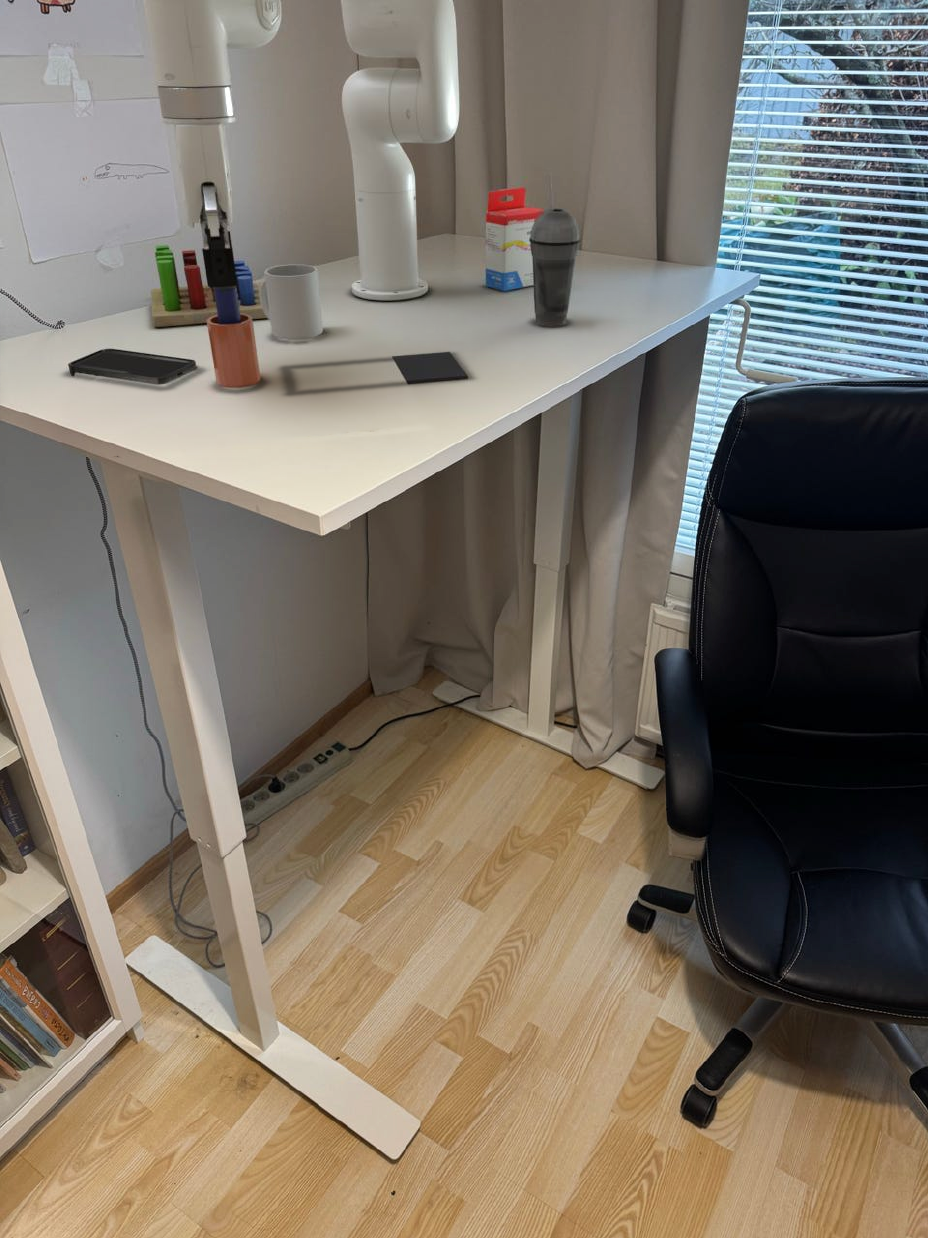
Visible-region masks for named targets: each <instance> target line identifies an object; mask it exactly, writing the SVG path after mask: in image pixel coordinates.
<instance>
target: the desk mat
mask: <svg viewBox="0 0 928 1238" xmlns="http://www.w3.org/2000/svg"><path fill="white" fill-rule="evenodd" d="M391 358H392V360H393V361H394V363H395V365H396V367H397V369H398V370H399V372H400V373H401V376H402V377H403V379H404V381H405V382H406V384H407V385H408V384H409V385H410V384H419V383H430V382H431V383H433V382H442V381H443V382H444V381H453V380H466V379H468V377H469V376H468V373H466V372H465V370H464V369H463V368H462V366H461V365H460V363H459V362H458V361H457V359H456V358H455V357H454V355H453V354H452V353H451V351H443V352H441V351H440V352H429V353H417V354H406V355H405V354H404V355H393V356H392V355H391Z"/></svg>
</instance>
